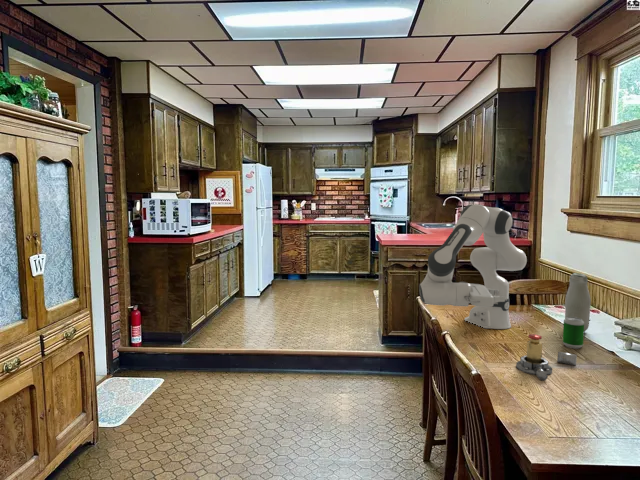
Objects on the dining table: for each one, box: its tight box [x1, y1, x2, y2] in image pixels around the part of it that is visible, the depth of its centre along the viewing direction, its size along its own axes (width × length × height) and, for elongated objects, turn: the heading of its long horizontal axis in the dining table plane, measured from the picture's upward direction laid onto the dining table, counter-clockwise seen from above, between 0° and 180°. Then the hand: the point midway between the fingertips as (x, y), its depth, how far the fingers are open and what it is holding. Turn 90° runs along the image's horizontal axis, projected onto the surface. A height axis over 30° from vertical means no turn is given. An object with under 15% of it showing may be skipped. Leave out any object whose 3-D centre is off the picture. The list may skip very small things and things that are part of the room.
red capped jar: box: [526, 333, 543, 364], centre depth 159 cm, size 5×5×12 cm
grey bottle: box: [564, 272, 592, 332], centre depth 201 cm, size 10×10×28 cm
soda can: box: [562, 317, 585, 350], centre depth 183 cm, size 8×8×12 cm
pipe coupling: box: [557, 351, 577, 366], centre depth 165 cm, size 6×4×4 cm, turn 54°
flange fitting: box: [515, 354, 553, 382], centre depth 157 cm, size 12×16×4 cm
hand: (501, 295), depth 159 cm, fingers open, 8 cm apart
